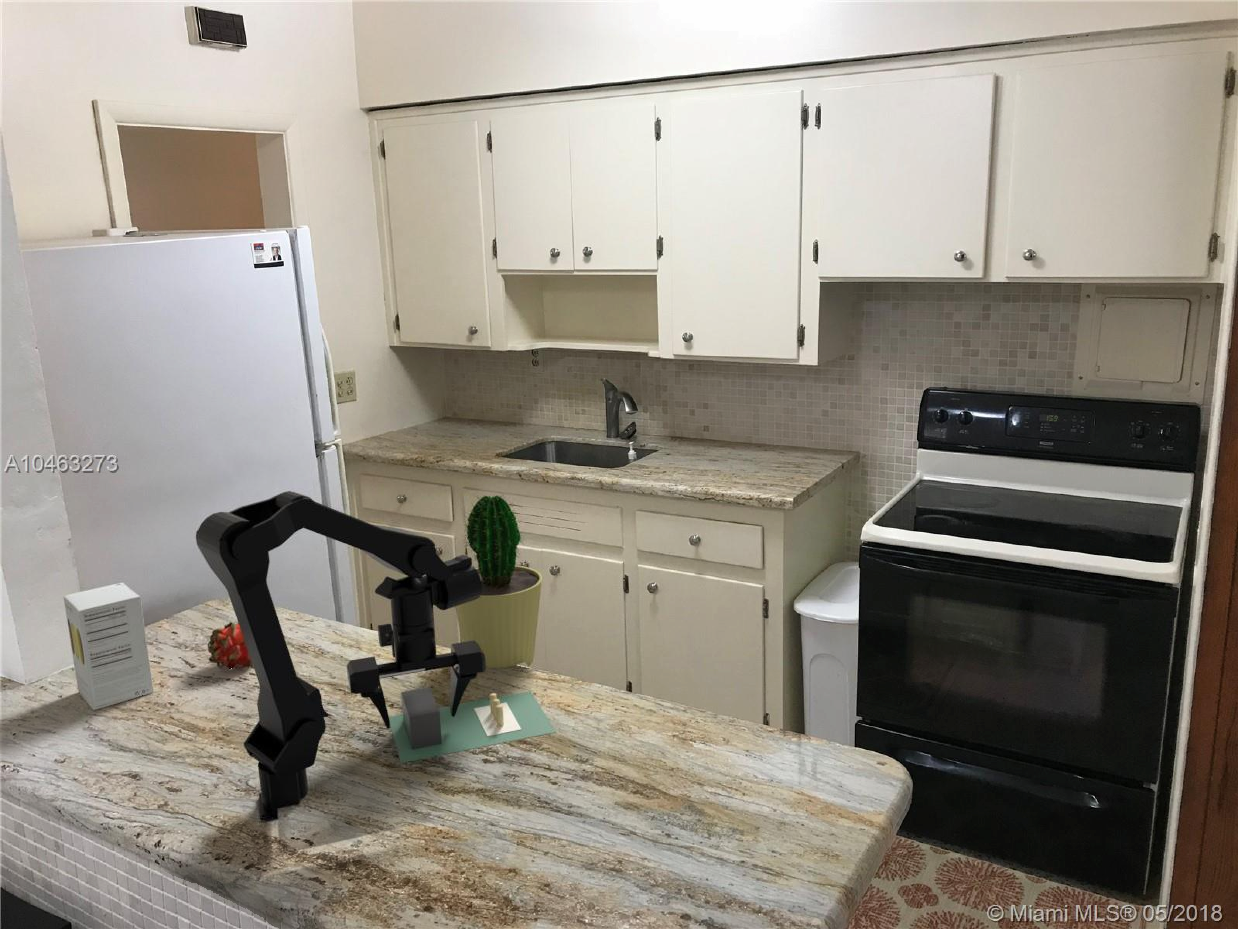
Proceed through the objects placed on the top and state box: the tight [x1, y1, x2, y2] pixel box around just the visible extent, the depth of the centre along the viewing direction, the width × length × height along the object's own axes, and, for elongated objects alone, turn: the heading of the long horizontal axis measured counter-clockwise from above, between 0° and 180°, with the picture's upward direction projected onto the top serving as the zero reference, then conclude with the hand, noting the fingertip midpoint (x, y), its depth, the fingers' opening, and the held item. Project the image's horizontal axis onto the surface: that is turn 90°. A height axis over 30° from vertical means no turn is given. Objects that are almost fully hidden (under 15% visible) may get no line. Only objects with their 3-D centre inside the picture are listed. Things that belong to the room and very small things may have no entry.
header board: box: [389, 690, 557, 764], centre depth 142 cm, size 14×22×4 cm, turn 110°
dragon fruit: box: [207, 621, 253, 670], centre depth 168 cm, size 8×8×12 cm
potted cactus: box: [454, 494, 543, 669], centre depth 164 cm, size 15×15×30 cm
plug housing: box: [400, 687, 442, 750], centre depth 141 cm, size 11×4×5 cm, turn 20°
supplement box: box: [63, 582, 154, 711], centre depth 157 cm, size 10×9×17 cm
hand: (420, 721), depth 140 cm, fingers open, 9 cm apart
